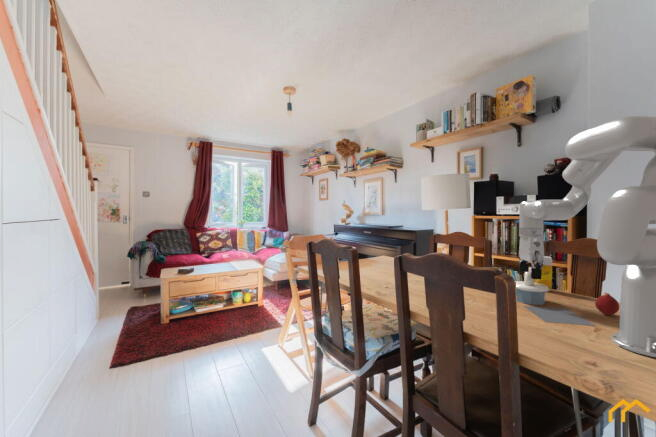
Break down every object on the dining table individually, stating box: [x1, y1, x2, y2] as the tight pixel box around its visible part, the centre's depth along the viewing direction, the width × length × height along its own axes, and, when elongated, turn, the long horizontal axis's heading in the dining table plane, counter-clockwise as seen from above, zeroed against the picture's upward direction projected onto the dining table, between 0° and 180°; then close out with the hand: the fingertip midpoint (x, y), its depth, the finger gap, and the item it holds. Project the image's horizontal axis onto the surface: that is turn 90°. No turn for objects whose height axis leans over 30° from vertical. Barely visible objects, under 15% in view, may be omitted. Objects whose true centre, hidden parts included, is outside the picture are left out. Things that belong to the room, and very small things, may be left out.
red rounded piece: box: [594, 292, 620, 316], centre depth 96 cm, size 6×6×8 cm
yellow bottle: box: [534, 255, 553, 292], centre depth 126 cm, size 6×6×15 cm
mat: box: [523, 305, 597, 327], centre depth 96 cm, size 15×14×1 cm
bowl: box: [516, 289, 546, 306], centre depth 111 cm, size 10×10×6 cm
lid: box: [514, 271, 549, 293], centre depth 111 cm, size 12×12×6 cm
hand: (529, 275), depth 110 cm, fingers open, 9 cm apart
